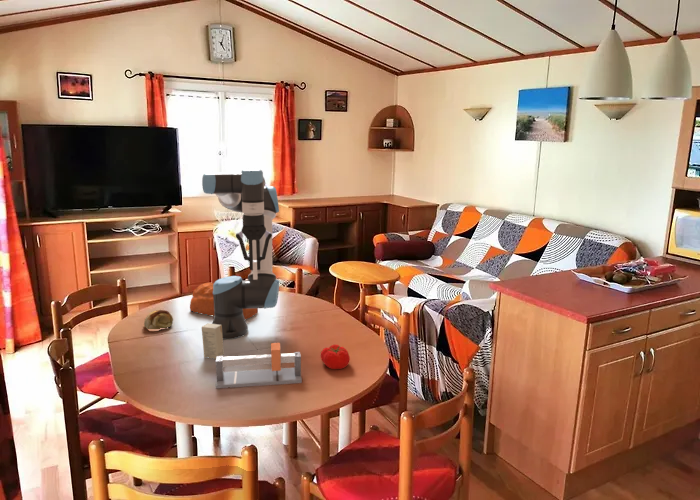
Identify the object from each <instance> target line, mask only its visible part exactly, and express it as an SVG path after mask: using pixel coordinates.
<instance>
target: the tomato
mask: <svg viewBox="0 0 700 500" xmlns="http://www.w3.org/2000/svg"><path fill="white" fill-rule="evenodd" d="M320 359H321V361H322V363H323V364H324V365H325V366H326V367H327V368H328V369H332V370H342V369H344V368H346V367H347V366H348V365H349V363H350V361H351V358H350V355H349V351H348V350H347V348H345V347H344V346H340V345H339V344H331V345H330V346H329V347H324V348H323V349H322V350H321V352H320Z"/></svg>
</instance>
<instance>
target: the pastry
mask: <svg viewBox="0 0 700 500" xmlns="http://www.w3.org/2000/svg"><path fill="white" fill-rule="evenodd" d="M173 321H174V318H173V315H172V314H171V312H169V311H168V310H164V309H157V310H155V311H151V312H149V313H148V314H147V315H146V317H145V318H144V322H143V325H144V328H145V327H146V328H147V329H160V328H167V327H170V326H171V327H172V325H173ZM171 327H170V328H171ZM146 328H145V329H146ZM147 329H146V330H147Z"/></svg>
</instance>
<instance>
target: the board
mask: <svg viewBox="0 0 700 500" xmlns="http://www.w3.org/2000/svg"><path fill="white" fill-rule="evenodd" d="M291 384H302V375H301V376H295V372H294V367H285V368H284V367H281V371H272V368H266V369H250V370H234V371H224V377H223V381H217V380H216V385H215V389H227V388H228V387H230V388H243V387H244V388H245V387H256V386H273V385H274V386H276V385H291Z"/></svg>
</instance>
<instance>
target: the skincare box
mask: <svg viewBox="0 0 700 500" xmlns="http://www.w3.org/2000/svg"><path fill="white" fill-rule="evenodd" d="M201 335H202V348H203V357H204V358H205V357H209V358H208V359H212V358H214V359H213V360H216V358H217V356H223V357H224V356H225V352H224V339H223V336H222V325H219V324H212V323H210V322H209V323H206V324H204V325H202V326H201Z"/></svg>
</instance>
